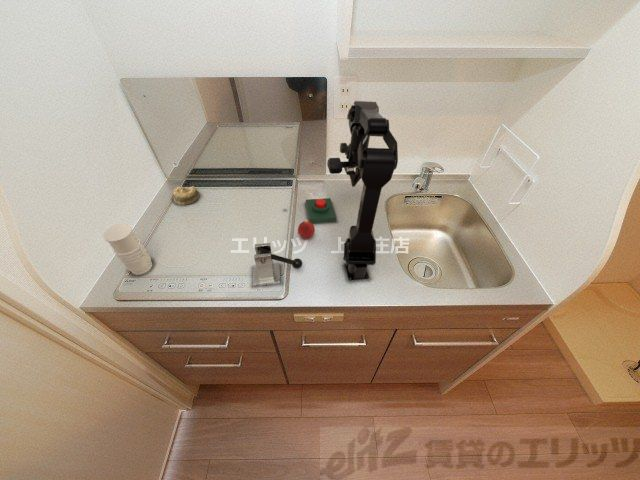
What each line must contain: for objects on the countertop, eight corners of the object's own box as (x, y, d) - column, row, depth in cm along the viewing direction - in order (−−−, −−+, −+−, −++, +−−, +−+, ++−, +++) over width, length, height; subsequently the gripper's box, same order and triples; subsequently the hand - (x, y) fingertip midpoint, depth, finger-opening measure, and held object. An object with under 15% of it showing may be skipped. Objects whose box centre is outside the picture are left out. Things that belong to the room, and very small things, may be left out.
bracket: (279, 265, 86) (276, 239, 77) (280, 283, 81) (277, 258, 72) (253, 267, 85) (248, 242, 76) (253, 286, 80) (247, 260, 71)
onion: (312, 244, 93) (312, 227, 87) (296, 241, 93) (295, 224, 87) (315, 233, 97) (316, 216, 91) (300, 230, 97) (300, 213, 91)
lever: (298, 263, 84) (303, 257, 82) (299, 272, 81) (305, 265, 80) (256, 252, 77) (260, 245, 75) (256, 260, 75) (260, 253, 73)
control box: (335, 221, 101) (336, 213, 98) (309, 223, 100) (309, 215, 97) (330, 202, 110) (330, 194, 107) (305, 203, 108) (305, 195, 105)
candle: (150, 274, 81) (127, 240, 70) (125, 277, 80) (98, 242, 69) (156, 257, 86) (135, 222, 75) (133, 259, 85) (108, 224, 74)
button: (326, 208, 101) (326, 204, 100) (316, 208, 101) (316, 204, 99) (324, 202, 104) (324, 198, 102) (315, 202, 103) (315, 199, 102)
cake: (199, 204, 106) (195, 194, 102) (172, 207, 104) (167, 197, 100) (200, 188, 112) (196, 177, 108) (175, 191, 110) (170, 180, 106)
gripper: (379, 132, 91) (371, 172, 102) (325, 133, 89) (323, 174, 100) (390, 147, 84) (380, 189, 95) (332, 150, 81) (328, 192, 92)
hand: (352, 186), depth 96 cm, fingers closed
